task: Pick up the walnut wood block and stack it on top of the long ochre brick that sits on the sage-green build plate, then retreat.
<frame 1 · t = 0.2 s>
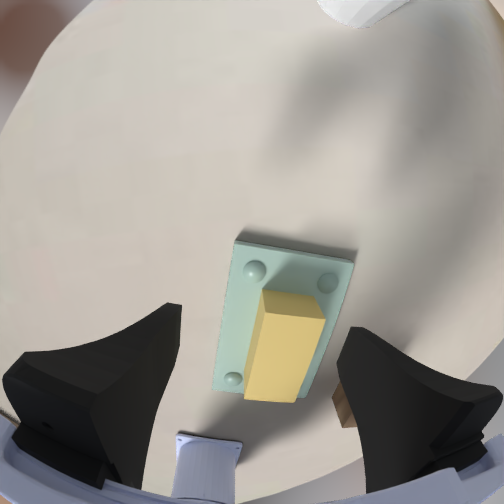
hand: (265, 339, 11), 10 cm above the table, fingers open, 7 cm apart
build plate: (275, 330, 22), on the table
shot glass: (347, 5, 14), on the table
ochre brick: (276, 337, 21), point 1 cm above the table, touching build plate
walnut block: (354, 383, 25), on the table
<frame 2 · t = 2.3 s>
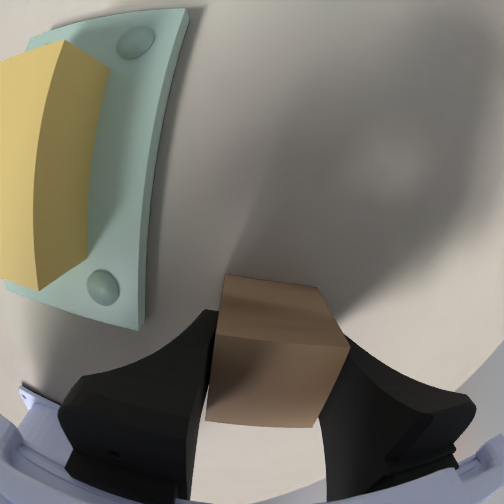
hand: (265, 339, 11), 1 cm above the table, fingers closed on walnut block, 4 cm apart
build plate: (68, 161, 10), on the table
ochre brick: (56, 161, 9), point 1 cm above the table, touching build plate
walnut block: (263, 321, 12), on the table, touching gripper
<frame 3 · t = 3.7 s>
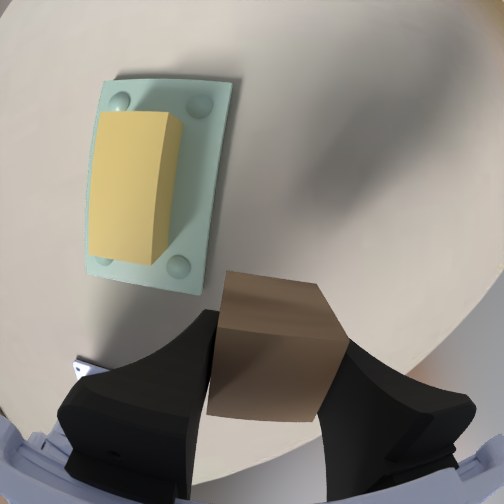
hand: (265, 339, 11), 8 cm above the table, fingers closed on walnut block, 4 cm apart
build plate: (149, 182, 17), on the table
ochre brick: (144, 183, 16), point 1 cm above the table, touching build plate
walnut block: (264, 317, 12), point 7 cm above the table, touching gripper
when the fingers open (7 cm above the table, at t = 5.0 s): walnut block stays where it is, resting on ochre brick.
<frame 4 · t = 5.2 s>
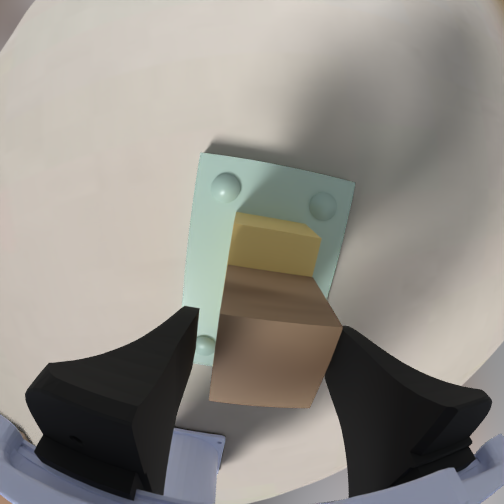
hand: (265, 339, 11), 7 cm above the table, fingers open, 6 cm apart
build plate: (258, 276, 17), on the table
ochre brick: (258, 283, 16), point 1 cm above the table, touching build plate, walnut block
walnut block: (263, 309, 13), point 4 cm above the table, touching ochre brick
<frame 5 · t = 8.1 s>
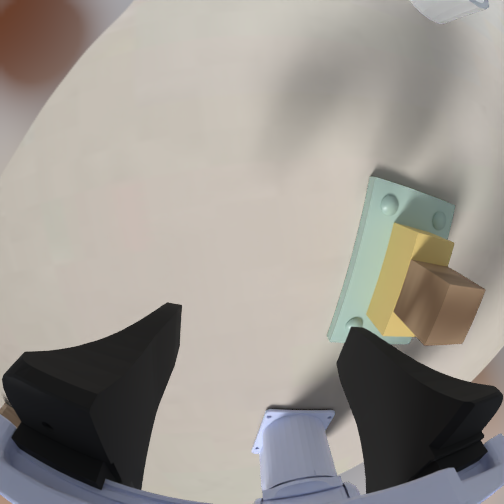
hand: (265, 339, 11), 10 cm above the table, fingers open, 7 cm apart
build plate: (394, 269, 21), on the table
shot glass: (427, 4, 14), on the table
ochre brick: (399, 273, 20), point 1 cm above the table, touching build plate, walnut block
walnut block: (422, 288, 17), point 4 cm above the table, touching ochre brick
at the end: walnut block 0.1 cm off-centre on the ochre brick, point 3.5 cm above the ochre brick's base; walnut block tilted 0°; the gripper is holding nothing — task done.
